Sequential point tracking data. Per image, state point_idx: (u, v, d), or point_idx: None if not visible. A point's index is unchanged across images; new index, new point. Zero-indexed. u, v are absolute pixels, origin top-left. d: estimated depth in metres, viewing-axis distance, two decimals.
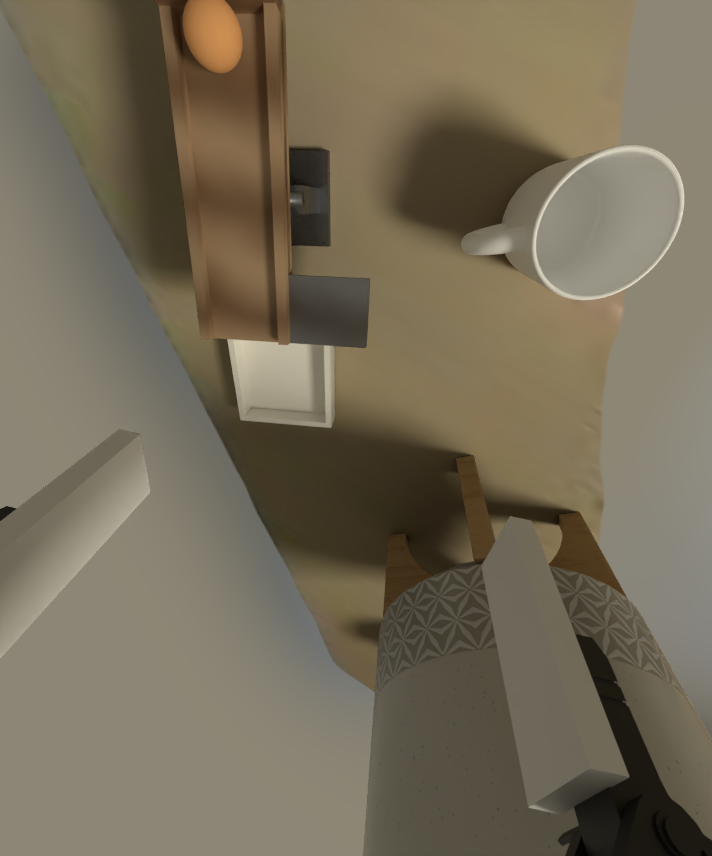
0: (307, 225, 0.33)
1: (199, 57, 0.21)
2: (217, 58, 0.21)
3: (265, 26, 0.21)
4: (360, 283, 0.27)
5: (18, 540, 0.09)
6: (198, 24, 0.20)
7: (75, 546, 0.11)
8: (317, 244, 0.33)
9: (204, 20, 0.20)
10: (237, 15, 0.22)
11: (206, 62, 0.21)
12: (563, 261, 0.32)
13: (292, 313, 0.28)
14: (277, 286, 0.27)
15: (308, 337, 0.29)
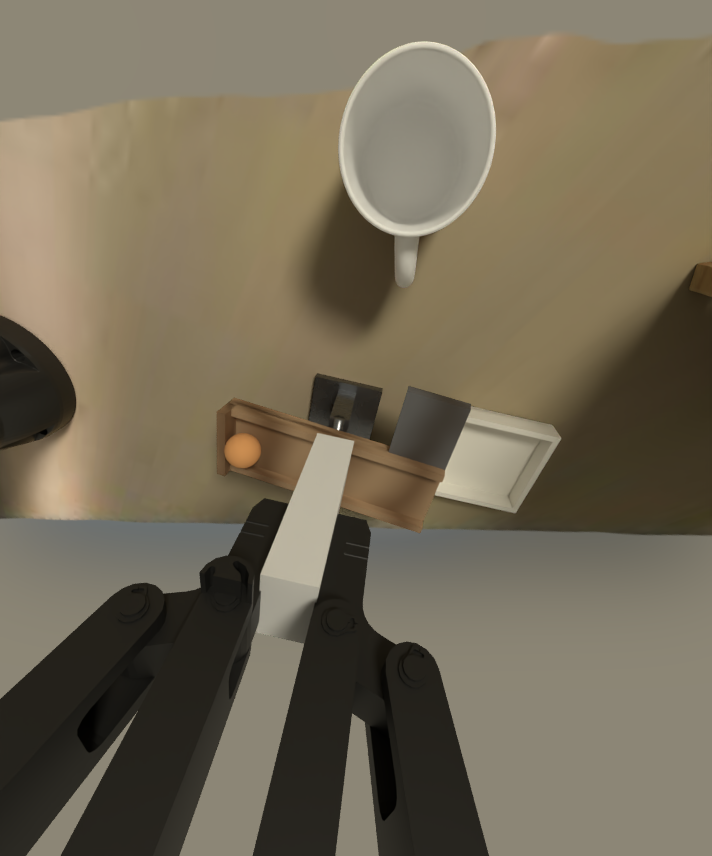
0: (362, 404, 0.39)
1: (251, 464, 0.33)
2: (252, 455, 0.32)
3: (241, 418, 0.32)
4: (409, 399, 0.29)
5: (308, 525, 0.11)
6: (236, 461, 0.32)
7: None
8: (378, 400, 0.38)
9: (235, 458, 0.32)
10: (236, 429, 0.34)
11: (254, 461, 0.33)
12: (455, 144, 0.27)
13: (419, 459, 0.31)
14: (393, 466, 0.31)
15: (444, 454, 0.30)
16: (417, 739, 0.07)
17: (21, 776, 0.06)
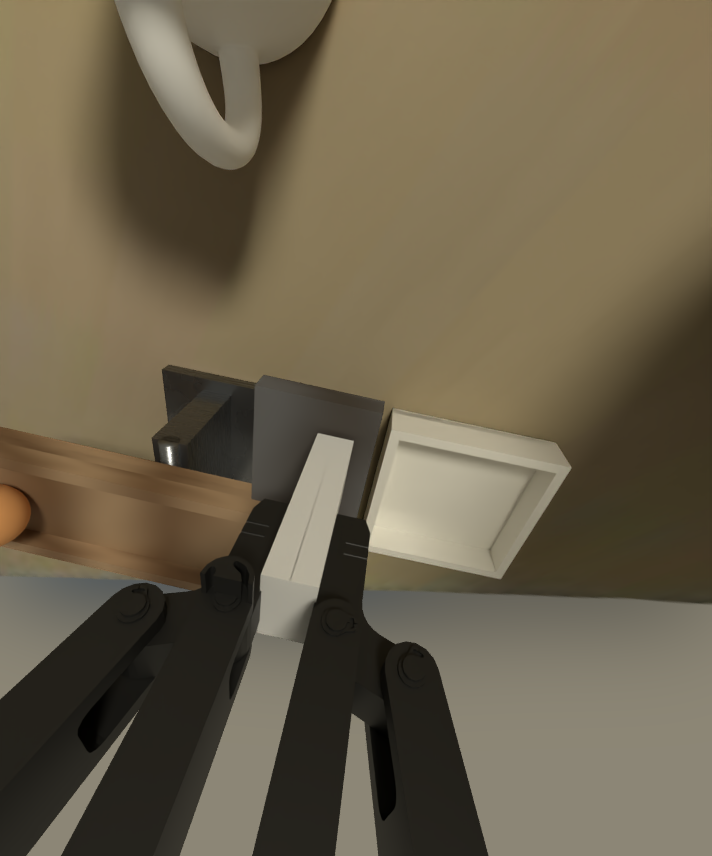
0: (245, 413, 0.24)
1: (3, 542, 0.18)
2: None
3: None
4: (262, 400, 0.14)
5: (308, 525, 0.11)
6: None
7: None
8: None
9: None
10: None
11: (6, 536, 0.18)
12: None
13: None
14: None
15: (349, 497, 0.16)
16: (417, 739, 0.07)
17: (21, 776, 0.06)
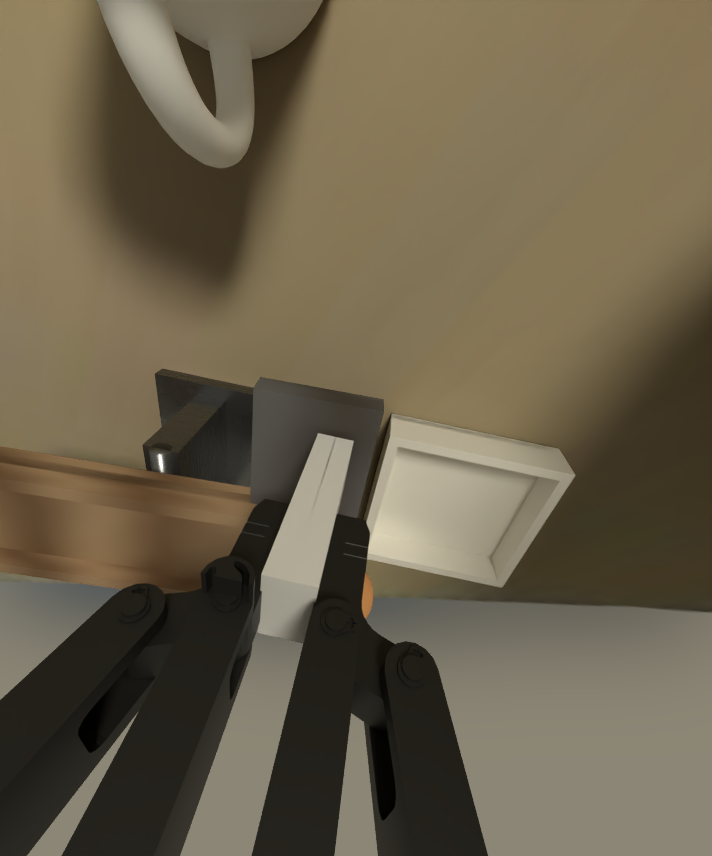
0: (240, 418, 0.23)
1: None
2: None
3: None
4: (261, 403, 0.14)
5: (309, 525, 0.11)
6: None
7: None
8: None
9: None
10: None
11: None
12: None
13: None
14: None
15: (350, 495, 0.16)
16: (416, 739, 0.07)
17: (22, 776, 0.06)
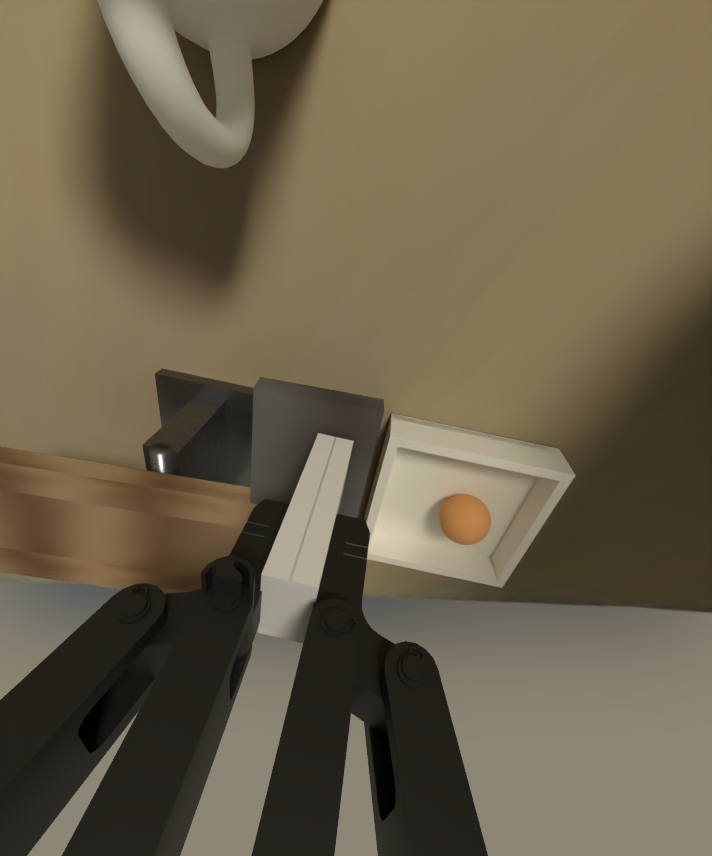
0: (240, 418, 0.23)
1: (439, 520, 0.24)
2: (443, 508, 0.23)
3: None
4: (261, 403, 0.14)
5: (309, 525, 0.11)
6: None
7: None
8: None
9: None
10: None
11: (439, 518, 0.24)
12: None
13: None
14: None
15: (350, 495, 0.16)
16: (416, 739, 0.07)
17: (22, 776, 0.06)
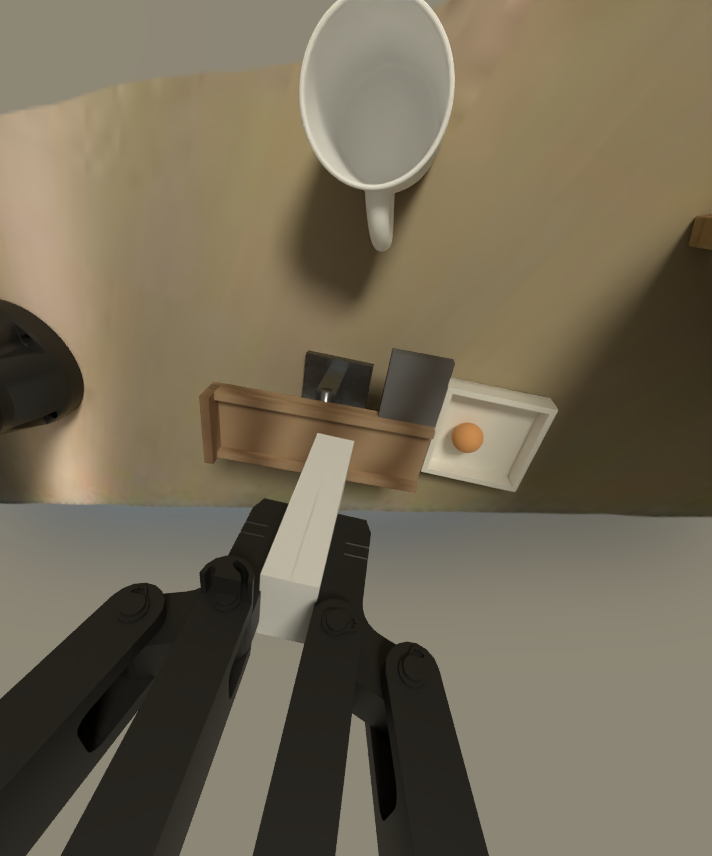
0: (354, 380, 0.38)
1: None
2: None
3: (225, 401, 0.31)
4: (395, 360, 0.29)
5: (308, 525, 0.11)
6: None
7: None
8: (369, 376, 0.38)
9: None
10: (220, 413, 0.33)
11: None
12: (432, 104, 0.27)
13: (409, 420, 0.32)
14: (385, 429, 0.32)
15: (432, 411, 0.31)
16: (417, 739, 0.07)
17: (21, 776, 0.06)
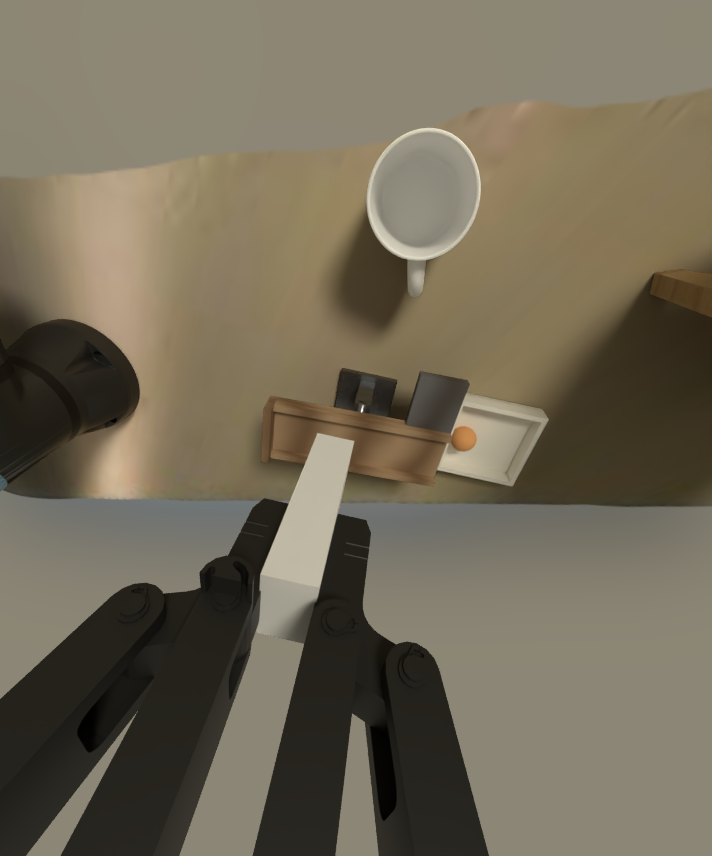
0: (380, 393, 0.46)
1: None
2: None
3: (282, 412, 0.39)
4: (422, 381, 0.37)
5: (308, 525, 0.11)
6: (475, 443, 0.46)
7: None
8: (394, 389, 0.45)
9: None
10: (275, 422, 0.40)
11: None
12: (454, 183, 0.34)
13: (431, 428, 0.40)
14: (412, 435, 0.39)
15: (450, 421, 0.39)
16: (417, 739, 0.07)
17: (21, 776, 0.06)
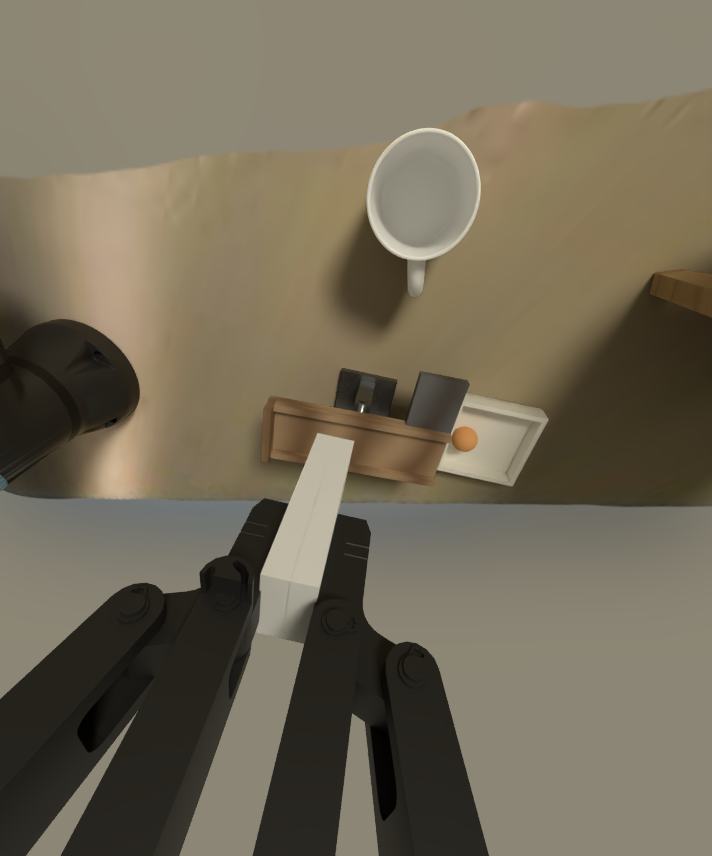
0: (380, 393, 0.46)
1: None
2: None
3: (282, 412, 0.39)
4: (422, 381, 0.37)
5: (308, 525, 0.11)
6: None
7: None
8: (394, 389, 0.45)
9: (477, 441, 0.46)
10: (275, 422, 0.40)
11: None
12: (454, 183, 0.34)
13: (431, 428, 0.40)
14: (412, 435, 0.39)
15: (450, 421, 0.39)
16: (417, 739, 0.07)
17: (21, 776, 0.06)
